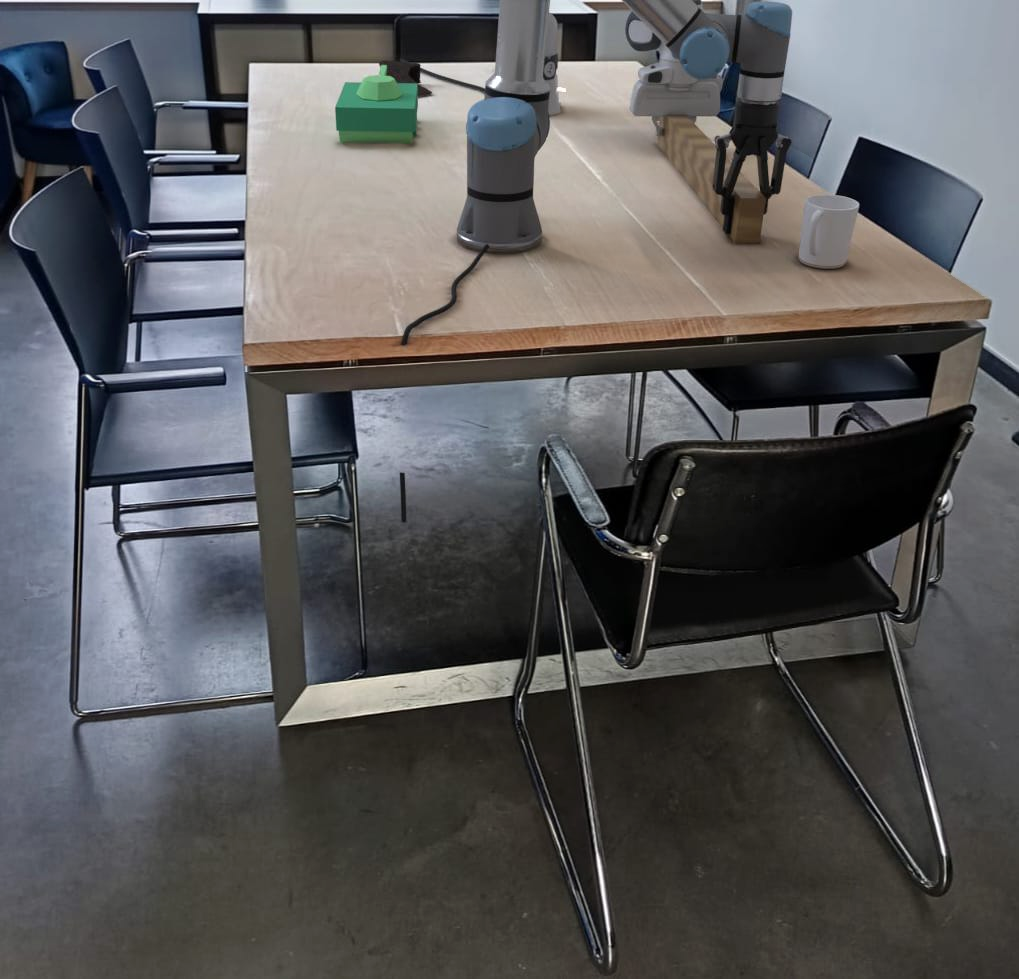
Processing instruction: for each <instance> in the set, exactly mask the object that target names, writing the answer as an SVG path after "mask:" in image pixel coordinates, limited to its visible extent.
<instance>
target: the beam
mask: <svg viewBox="0 0 1019 979" xmlns="http://www.w3.org/2000/svg"><path fill="white" fill-rule="evenodd" d="M658 125H659V127H662V128H663V136H657V143H656V144H657V146H658V147H659V148H660V150H661V152H663V154H664V155H665V156H666V158H667V159H668V160H669V161H670V162H671V164H672V165H673V166H674V167H675V169H676V170H677V172H678V173H679V174H680V176H681V177H682V178H683V179H684V180H685V181H686V183H687V184H688V186H689V187H690V188H691V190H692V191H693V192H694V193H695V194H696V195H697V197H698V198H699V199H700V201H701V202H702V203H703V205H704V206H705V207H706V208H707V209H708V211H709V212H710V214H711V215H712V216H713V217H714V218H715V220H716V221H717V223H719V225H720V226H721V227H722V228H723V224H724V216H725V215H722V213H721V211H720V207H721V199H722V196H721V195H717V194H716V193H715V192H714V190H713V189H712V186H713V177H714V168H715V159H716V150H717V149H716V145H715V142H713V141H712V140H711V139H710V138H709V137H708V136H707V135H706V134H705V133H704V131H702V129H700V128H699V126H698V125H697V124H696V123H695V124H694V122H693V121H692V120H691V119H690V118H689V117H688V116H687V115H666V116H660V119H659V121H658ZM731 163H732V160H730V159H729V157H727V156H726V163H725V171H724V180H723V186H724V183H725V180H726V177H727V174H728V171H729V169H730V166H731ZM732 196H733V197H734V198H735V203H734V211H733V219H732V226H731V234H727V235H728V236H729V238H730V239H731V240H732V241H733V243H734V244H760V243H761V236H762V229H763V223H764V216H765V215H764V209H765V202H766V197H765V196H764V195H763V194H762V193H761V192H760V189H758V188H757V187H756V186H755V185H754V183H752V182H751V181H750V179H749V178H748V177H746V176H745V175H744V173H743V172H742V171H741V170H740V173H739V176H738V179H737V181H736V184H735V187H734V190H733V193H732Z"/></svg>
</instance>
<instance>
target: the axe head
mask: <svg viewBox="0 0 1019 979" xmlns="http://www.w3.org/2000/svg"><path fill="white" fill-rule="evenodd" d="M381 65H387V73H386V76H391V77H392V78H394V79H395V81H396V82H397V83H416V84H418V98H419V97H425V96H429V95H432V94H433V91H431V90H430V89H428V88H427V87H425V86H422V85H421V84H422V82H421V71H420V68H421V63H419V62H410V61H408V62H401V61H400V60H399V61H397V60H388V59H387V60H380V61H379V62H378V66H379V69H380V68H381Z"/></svg>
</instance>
